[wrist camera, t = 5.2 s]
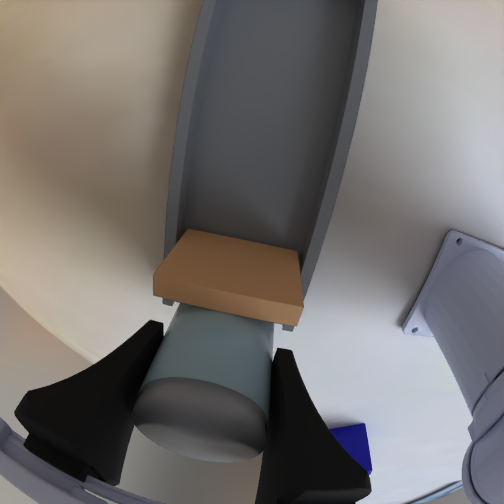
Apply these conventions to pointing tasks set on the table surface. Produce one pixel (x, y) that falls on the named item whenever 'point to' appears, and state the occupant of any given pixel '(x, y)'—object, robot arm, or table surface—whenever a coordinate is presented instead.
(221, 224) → the tray
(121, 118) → the table surface
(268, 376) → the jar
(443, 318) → the robot arm
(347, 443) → the cable clip
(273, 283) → the bar
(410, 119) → the table surface
